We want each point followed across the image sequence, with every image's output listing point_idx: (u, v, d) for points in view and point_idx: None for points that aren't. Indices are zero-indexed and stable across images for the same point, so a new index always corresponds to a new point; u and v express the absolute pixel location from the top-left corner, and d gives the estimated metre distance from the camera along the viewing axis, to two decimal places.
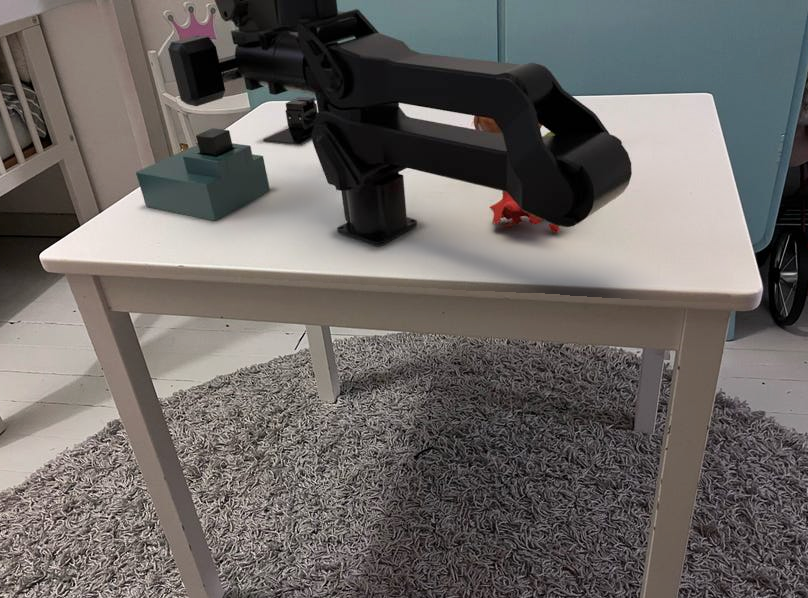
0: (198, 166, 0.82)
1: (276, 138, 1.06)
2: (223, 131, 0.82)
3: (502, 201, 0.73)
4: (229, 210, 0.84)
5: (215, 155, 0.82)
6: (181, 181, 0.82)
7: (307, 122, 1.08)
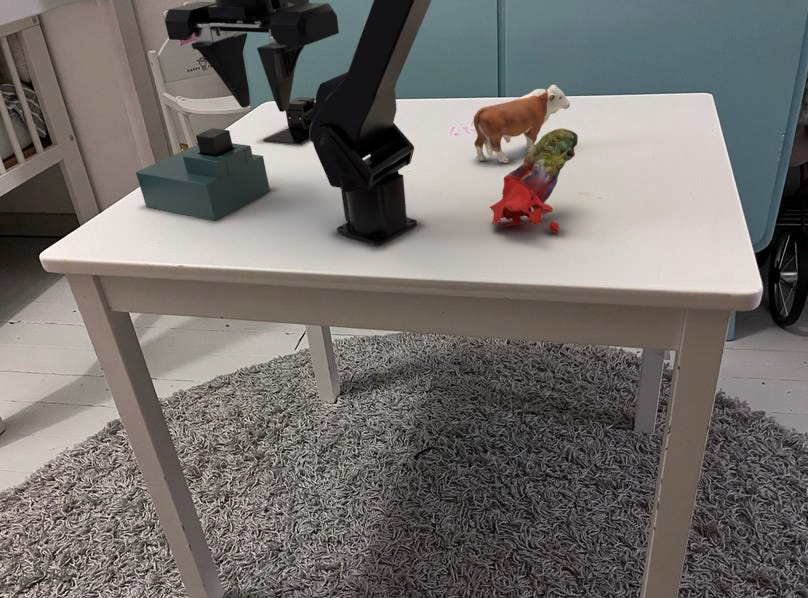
0: (198, 166, 0.82)
1: (276, 138, 1.06)
2: (223, 131, 0.82)
3: (502, 201, 0.73)
4: (229, 210, 0.84)
5: (215, 155, 0.82)
6: (181, 181, 0.82)
7: (307, 122, 1.08)
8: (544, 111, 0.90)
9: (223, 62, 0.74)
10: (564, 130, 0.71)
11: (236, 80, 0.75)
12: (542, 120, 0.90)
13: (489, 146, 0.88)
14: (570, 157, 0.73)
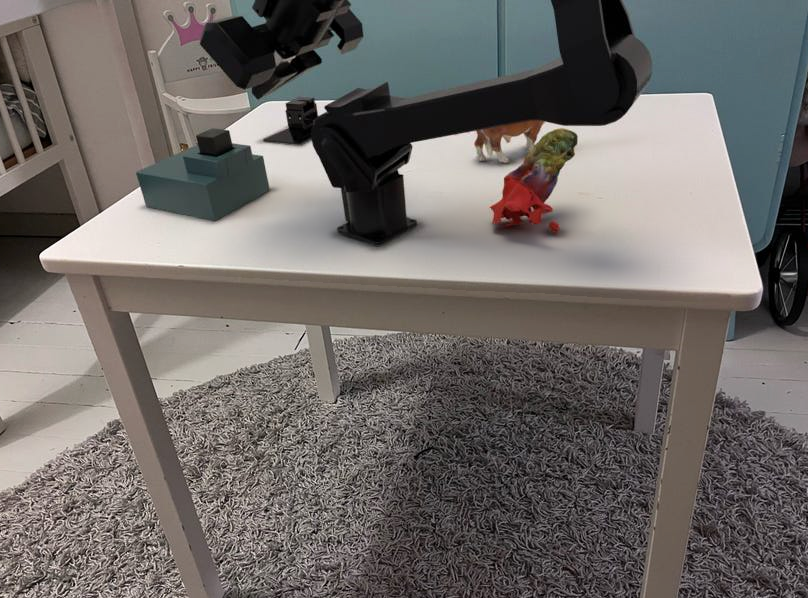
0: (198, 166, 0.82)
1: (276, 138, 1.06)
2: (223, 131, 0.82)
3: (502, 201, 0.73)
4: (229, 210, 0.84)
5: (215, 155, 0.82)
6: (181, 181, 0.82)
7: (307, 122, 1.08)
8: None
9: None
10: (564, 130, 0.71)
11: None
12: None
13: (489, 146, 0.88)
14: (570, 157, 0.72)
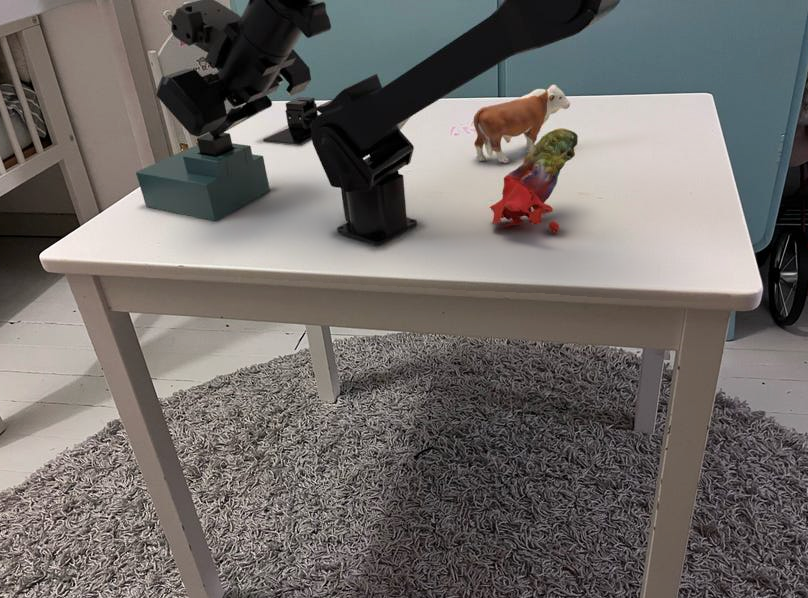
0: (198, 166, 0.82)
1: (276, 138, 1.06)
2: (224, 135, 0.82)
3: (502, 201, 0.73)
4: (229, 210, 0.84)
5: None
6: (181, 181, 0.82)
7: (307, 122, 1.08)
8: (544, 111, 0.90)
9: None
10: (564, 130, 0.71)
11: None
12: (542, 120, 0.90)
13: (489, 146, 0.88)
14: (570, 157, 0.72)
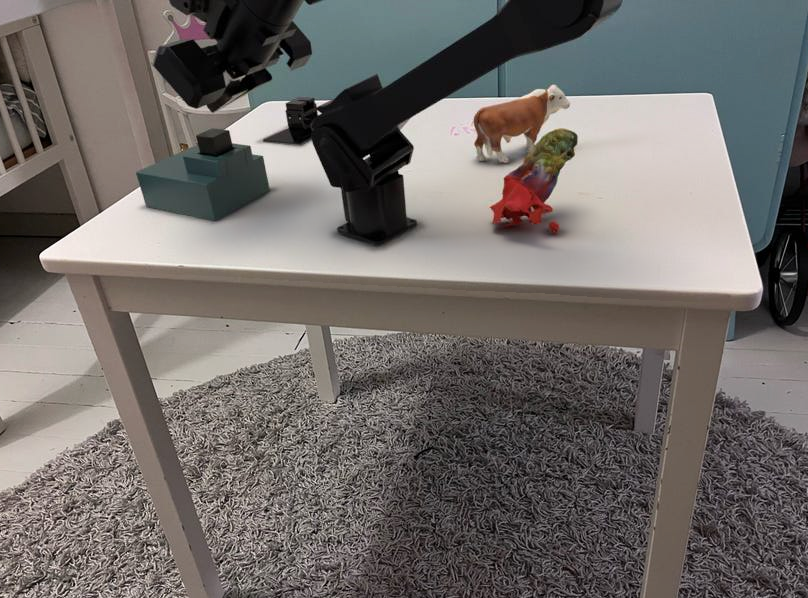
0: (198, 166, 0.82)
1: (276, 138, 1.06)
2: (223, 131, 0.82)
3: (502, 201, 0.73)
4: (229, 210, 0.84)
5: (215, 155, 0.82)
6: (181, 181, 0.82)
7: (307, 122, 1.08)
8: (544, 111, 0.90)
9: None
10: (564, 130, 0.71)
11: None
12: (542, 120, 0.90)
13: (489, 146, 0.88)
14: (570, 157, 0.72)
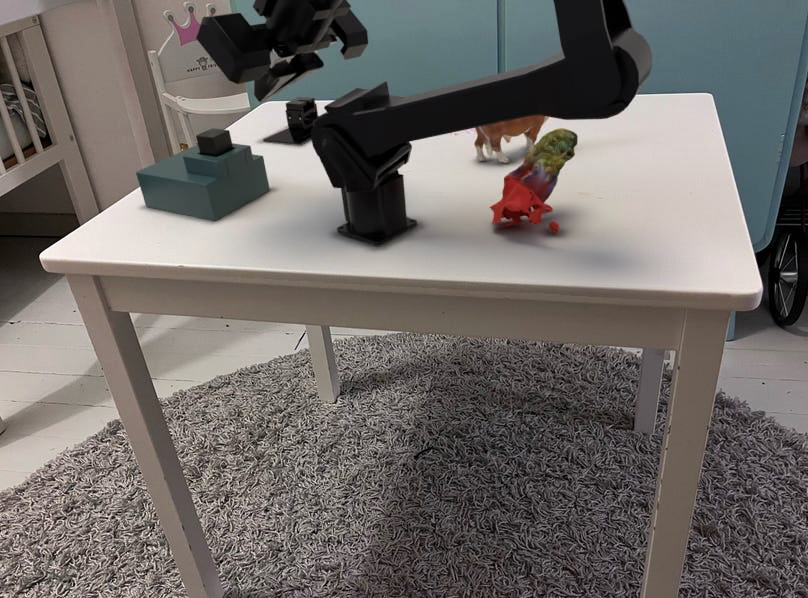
0: (198, 166, 0.82)
1: (276, 138, 1.06)
2: (223, 131, 0.82)
3: (502, 201, 0.73)
4: (229, 210, 0.84)
5: (215, 155, 0.82)
6: (181, 181, 0.82)
7: (307, 122, 1.08)
8: None
9: None
10: (564, 130, 0.71)
11: None
12: (542, 120, 0.90)
13: (489, 146, 0.88)
14: (570, 157, 0.73)
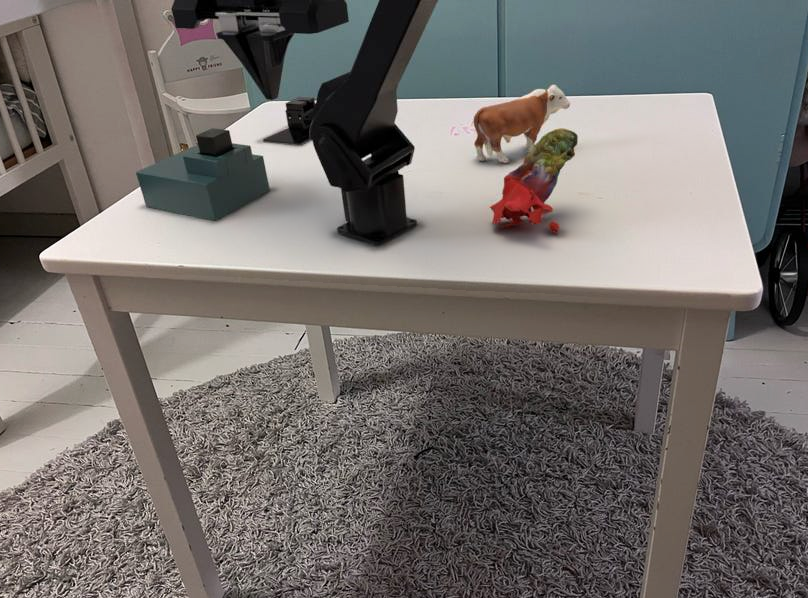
0: (198, 166, 0.82)
1: (276, 138, 1.06)
2: (223, 131, 0.82)
3: (502, 201, 0.73)
4: (229, 210, 0.84)
5: (215, 155, 0.82)
6: (181, 181, 0.82)
7: (307, 122, 1.08)
8: (544, 111, 0.90)
9: (249, 52, 0.72)
10: (564, 130, 0.71)
11: None
12: (542, 120, 0.90)
13: (489, 146, 0.88)
14: (570, 157, 0.72)
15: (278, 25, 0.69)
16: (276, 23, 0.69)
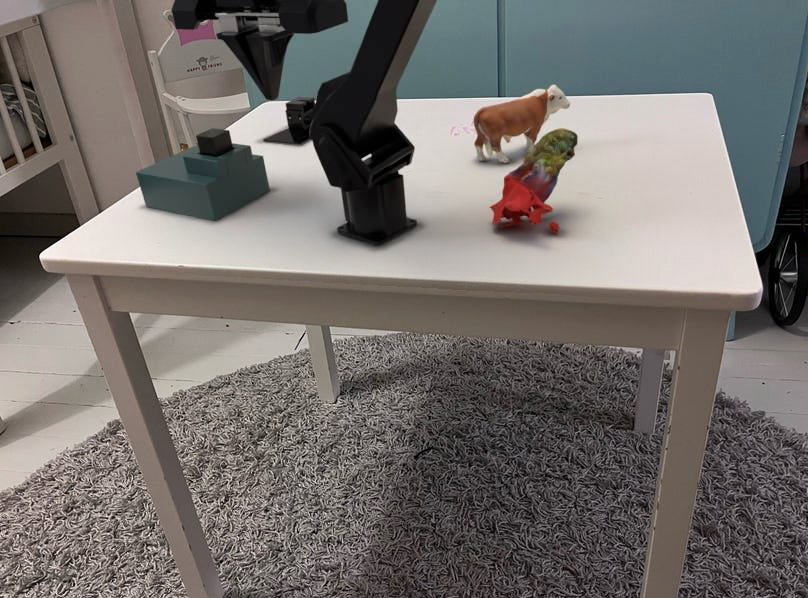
0: (198, 166, 0.82)
1: (276, 138, 1.06)
2: (223, 131, 0.82)
3: (502, 201, 0.73)
4: (229, 210, 0.84)
5: (215, 155, 0.82)
6: (181, 181, 0.82)
7: (307, 122, 1.08)
8: (544, 111, 0.90)
9: (249, 53, 0.72)
10: (564, 130, 0.71)
11: None
12: (542, 120, 0.90)
13: (489, 146, 0.88)
14: (570, 157, 0.72)
15: (278, 25, 0.69)
16: (276, 23, 0.69)
